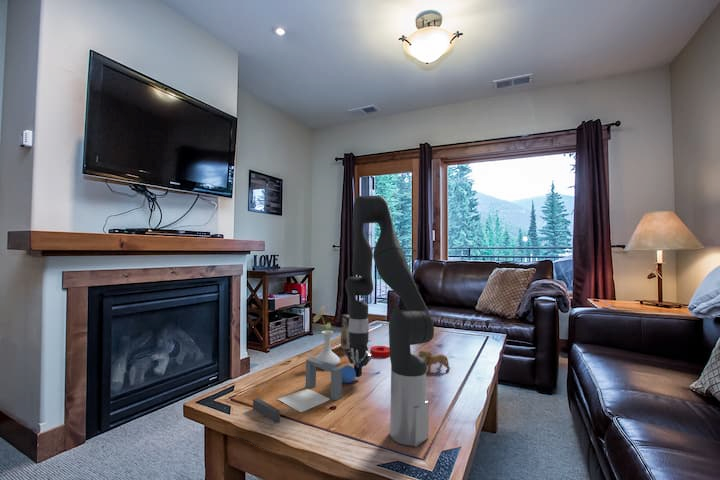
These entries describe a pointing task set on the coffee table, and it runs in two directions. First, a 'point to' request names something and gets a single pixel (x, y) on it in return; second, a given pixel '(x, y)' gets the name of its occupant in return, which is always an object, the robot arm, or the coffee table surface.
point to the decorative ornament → (380, 351)
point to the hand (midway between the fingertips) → (357, 376)
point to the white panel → (303, 400)
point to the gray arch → (335, 370)
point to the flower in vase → (326, 341)
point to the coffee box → (345, 331)
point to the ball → (348, 374)
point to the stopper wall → (266, 409)
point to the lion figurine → (434, 360)
